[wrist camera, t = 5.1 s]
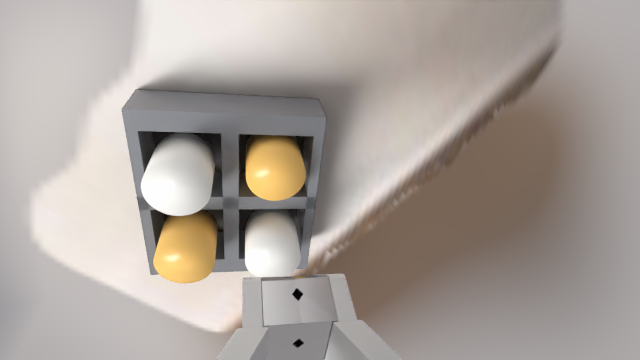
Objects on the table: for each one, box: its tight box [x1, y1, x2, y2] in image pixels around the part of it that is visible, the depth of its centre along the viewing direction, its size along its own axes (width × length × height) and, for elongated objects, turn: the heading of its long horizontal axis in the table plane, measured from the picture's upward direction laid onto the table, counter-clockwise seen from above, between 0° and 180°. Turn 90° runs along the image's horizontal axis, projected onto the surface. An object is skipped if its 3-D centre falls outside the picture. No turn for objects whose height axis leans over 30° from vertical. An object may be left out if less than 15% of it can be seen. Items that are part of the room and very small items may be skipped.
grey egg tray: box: [122, 90, 327, 275], centre depth 21 cm, size 10×9×2 cm
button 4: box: [246, 135, 306, 201], centre depth 19 cm, size 3×3×3 cm
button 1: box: [153, 210, 218, 283], centre depth 20 cm, size 3×3×3 cm
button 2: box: [245, 209, 301, 277], centre depth 21 cm, size 3×3×3 cm
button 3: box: [141, 133, 215, 216], centre depth 17 cm, size 3×3×3 cm
